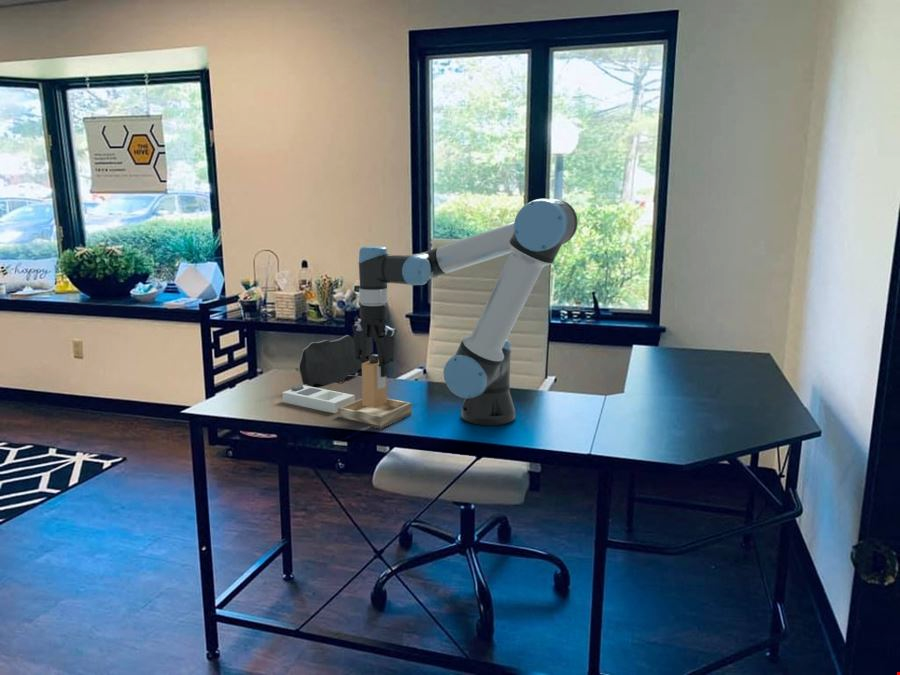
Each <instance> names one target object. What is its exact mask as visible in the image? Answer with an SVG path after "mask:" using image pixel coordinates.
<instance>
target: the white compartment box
mask: <svg viewBox="0 0 900 675" xmlns="http://www.w3.org/2000/svg"><path fill="white" fill-rule="evenodd" d="M281 393H282V403H285V404H290V405H293V406H299V407H303V408H309V409H313V410H317V411H321V412H325V413H331V414H337V413H338V408H340V407H342V406H345V405H347V404H349V403H352V402H354V401H356V396H355V394H351V393H346V392H345V393H344V392H340V391H335V390H329V389H325V388H320V387H314V386H311V385H306V384H305V385H303V384H302V385H300V384H299V385H294V386H293V387H291V389H289V390H285V391H282V392H281Z"/></svg>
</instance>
